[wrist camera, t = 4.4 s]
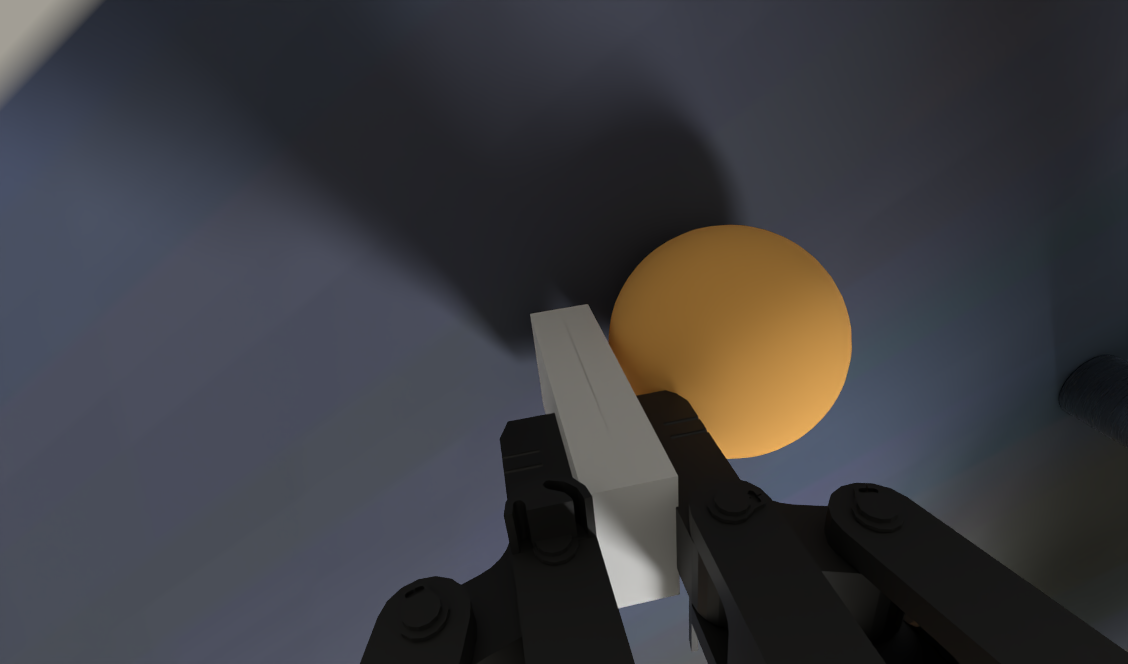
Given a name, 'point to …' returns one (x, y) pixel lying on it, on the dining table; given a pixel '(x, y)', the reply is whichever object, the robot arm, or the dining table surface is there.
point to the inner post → (1100, 396)
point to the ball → (736, 334)
